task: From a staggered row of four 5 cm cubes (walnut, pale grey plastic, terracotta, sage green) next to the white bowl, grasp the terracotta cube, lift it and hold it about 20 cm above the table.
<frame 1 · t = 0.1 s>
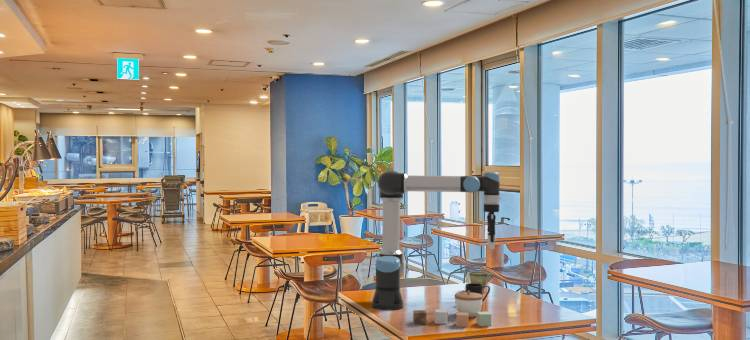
hand: (491, 247, 311), 28 cm above the table, fingers open, 13 cm apart
lidded bowl: (468, 315, 288), on the table
ceramic cup: (480, 291, 347), on the table
grey block: (441, 322, 274), on the table
sage block: (483, 324, 271), on the table
mug: (477, 304, 312), on the table
walnut block: (419, 323, 272), on the table
terracotta block: (462, 325, 269), on the table
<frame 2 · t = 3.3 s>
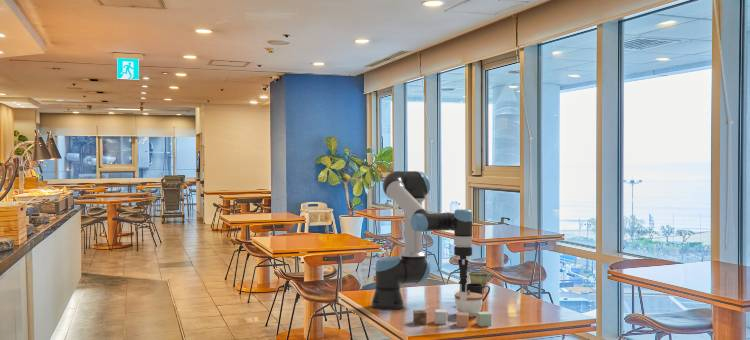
hand: (463, 296, 269), 12 cm above the table, fingers open, 13 cm apart
nothing on the table moved.
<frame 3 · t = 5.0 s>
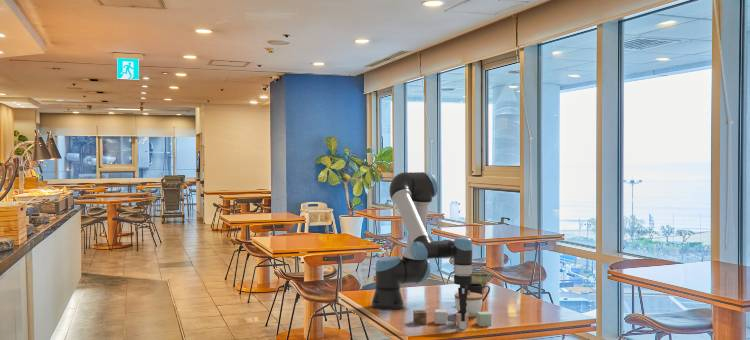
hand: (462, 325, 269), 0 cm above the table, fingers open, 13 cm apart
nothing on the table moved.
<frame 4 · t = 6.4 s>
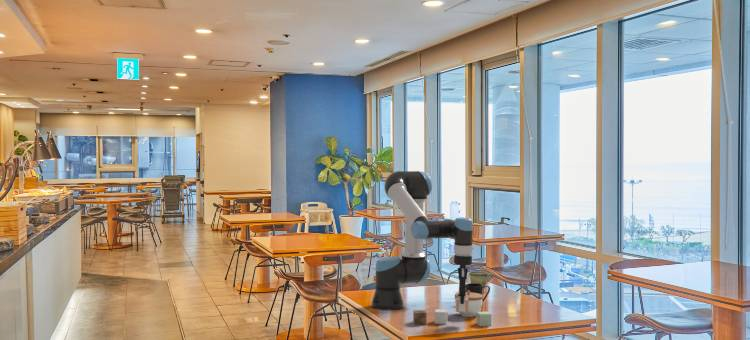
hand: (461, 309, 269), 7 cm above the table, fingers closed on terracotta block, 5 cm apart
terracotta block: (461, 310, 269), point 6 cm above the table, touching gripper
everything else where it was.
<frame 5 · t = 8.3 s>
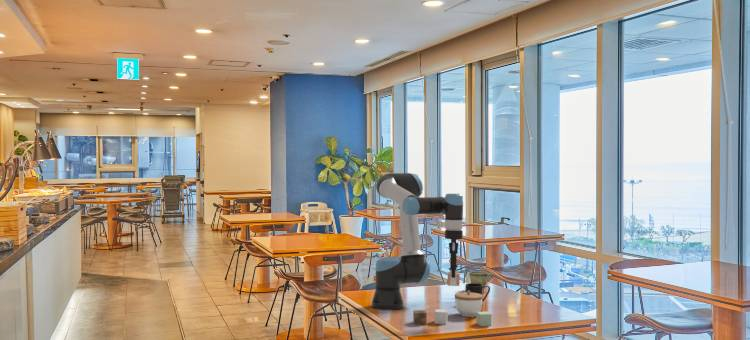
hand: (453, 283, 273), 17 cm above the table, fingers closed on terracotta block, 5 cm apart
terracotta block: (453, 284, 273), point 16 cm above the table, touching gripper
everything else where it was.
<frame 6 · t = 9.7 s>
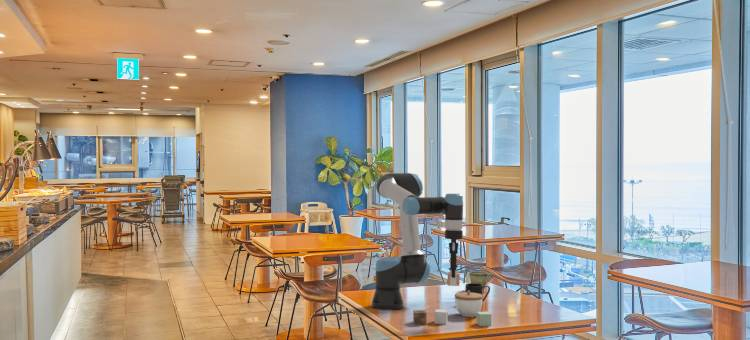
hand: (453, 283, 273), 17 cm above the table, fingers closed on terracotta block, 5 cm apart
terracotta block: (453, 284, 273), point 16 cm above the table, touching gripper
everything else where it was.
at the end: the gripper is holding terracotta block; terracotta block point 16.3 cm above the table; grey block moved 0.1 cm from its start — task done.
